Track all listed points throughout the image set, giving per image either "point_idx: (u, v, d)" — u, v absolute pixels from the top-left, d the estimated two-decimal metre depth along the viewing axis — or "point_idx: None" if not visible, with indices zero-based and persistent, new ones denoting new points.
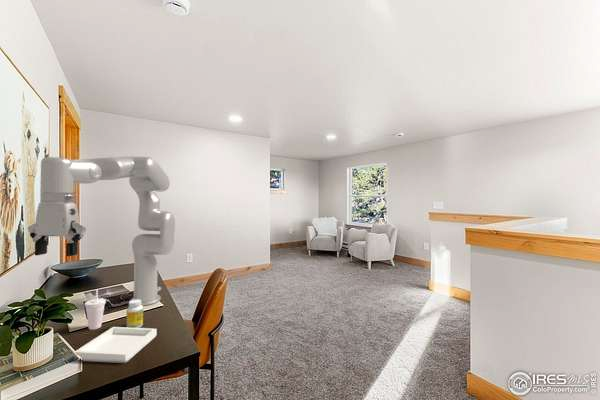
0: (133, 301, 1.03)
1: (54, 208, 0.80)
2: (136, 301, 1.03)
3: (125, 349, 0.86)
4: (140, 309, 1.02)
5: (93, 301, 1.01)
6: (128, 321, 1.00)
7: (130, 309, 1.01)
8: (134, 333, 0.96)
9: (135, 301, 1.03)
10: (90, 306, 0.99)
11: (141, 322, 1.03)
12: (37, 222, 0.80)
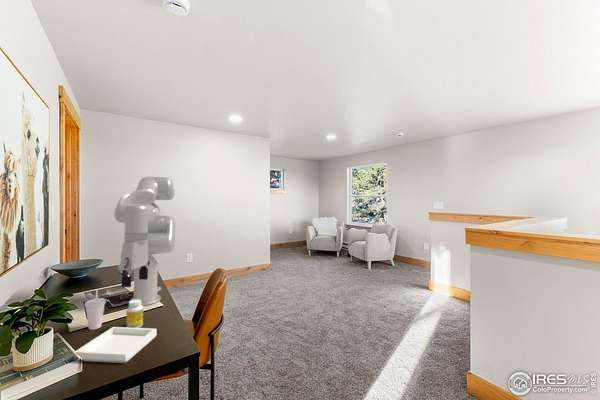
0: (133, 301, 1.03)
1: (144, 244, 1.04)
2: (136, 301, 1.03)
3: (125, 349, 0.86)
4: (140, 309, 1.02)
5: (93, 301, 1.01)
6: (128, 321, 1.00)
7: (130, 309, 1.01)
8: (134, 333, 0.96)
9: (135, 301, 1.03)
10: (90, 306, 0.99)
11: (141, 322, 1.03)
12: (135, 258, 0.99)
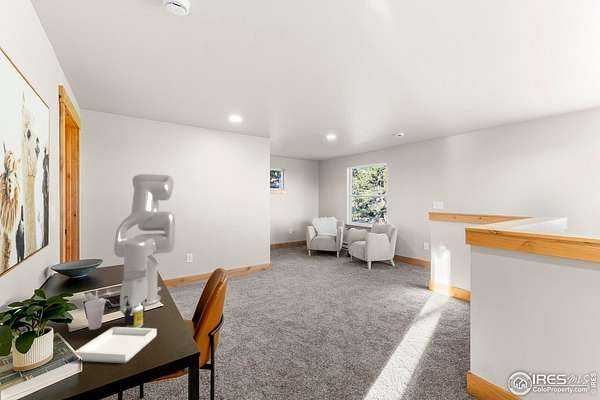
0: None
1: (144, 280, 1.04)
2: None
3: (125, 349, 0.86)
4: (140, 309, 1.02)
5: (93, 301, 1.01)
6: None
7: (130, 309, 1.01)
8: (134, 333, 0.96)
9: None
10: (90, 306, 0.99)
11: (141, 322, 1.03)
12: (134, 296, 0.99)
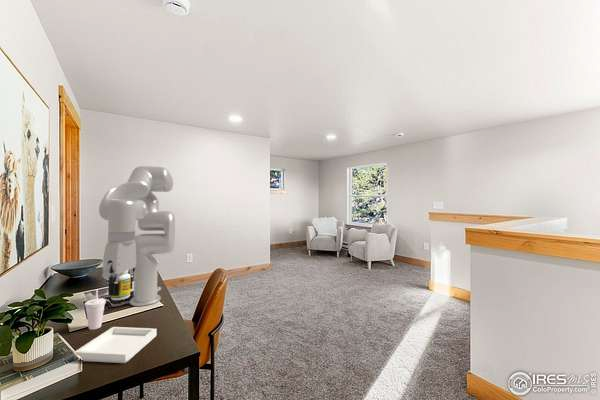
0: None
1: (131, 245, 0.91)
2: None
3: (125, 349, 0.86)
4: (127, 277, 0.89)
5: (93, 301, 1.01)
6: None
7: None
8: (134, 333, 0.96)
9: None
10: (90, 306, 0.99)
11: (128, 293, 0.89)
12: (119, 261, 0.86)
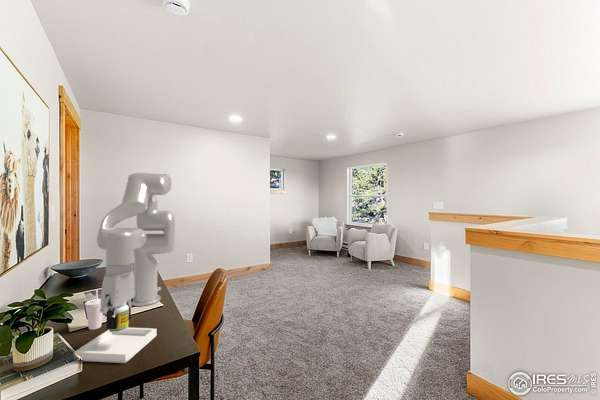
0: None
1: (130, 276, 0.90)
2: None
3: (125, 349, 0.86)
4: (125, 309, 0.88)
5: (93, 301, 1.01)
6: None
7: None
8: (134, 333, 0.96)
9: None
10: (90, 306, 0.99)
11: (126, 325, 0.88)
12: (117, 294, 0.85)
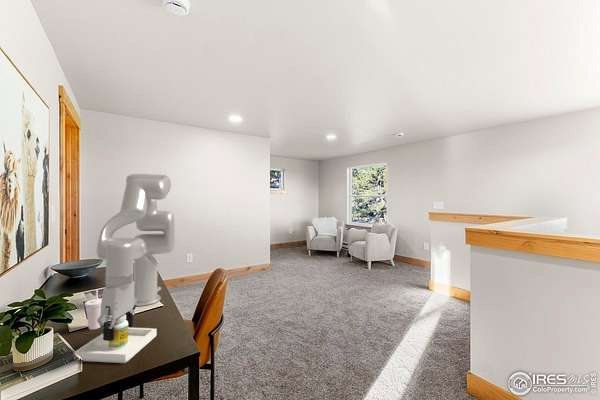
0: None
1: (130, 287, 0.90)
2: (120, 316, 0.88)
3: (125, 349, 0.86)
4: (124, 325, 0.88)
5: (93, 301, 1.01)
6: None
7: None
8: (134, 333, 0.96)
9: None
10: (90, 306, 0.99)
11: (125, 341, 0.88)
12: (117, 306, 0.85)
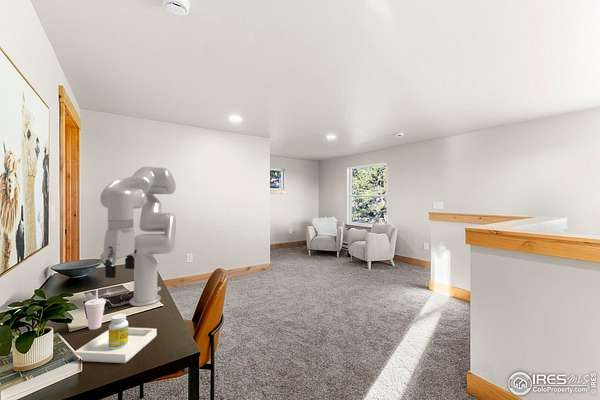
0: (116, 316, 0.88)
1: (130, 232, 0.96)
2: (120, 316, 0.88)
3: (125, 349, 0.86)
4: (124, 325, 0.88)
5: (93, 301, 1.01)
6: (110, 340, 0.86)
7: (112, 326, 0.86)
8: (134, 333, 0.96)
9: (119, 316, 0.88)
10: (90, 306, 0.99)
11: (125, 341, 0.88)
12: (119, 247, 0.91)
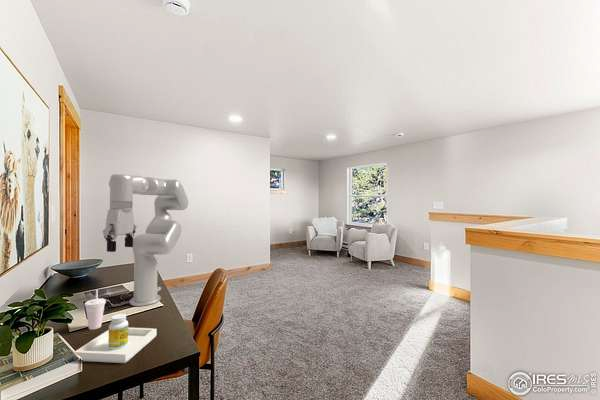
0: (116, 316, 0.88)
1: (129, 213, 1.08)
2: (120, 316, 0.88)
3: (125, 349, 0.86)
4: (124, 325, 0.88)
5: (93, 301, 1.01)
6: (110, 340, 0.86)
7: (112, 326, 0.86)
8: (134, 333, 0.96)
9: (119, 316, 0.88)
10: (90, 306, 0.99)
11: (125, 341, 0.88)
12: (119, 224, 1.03)
